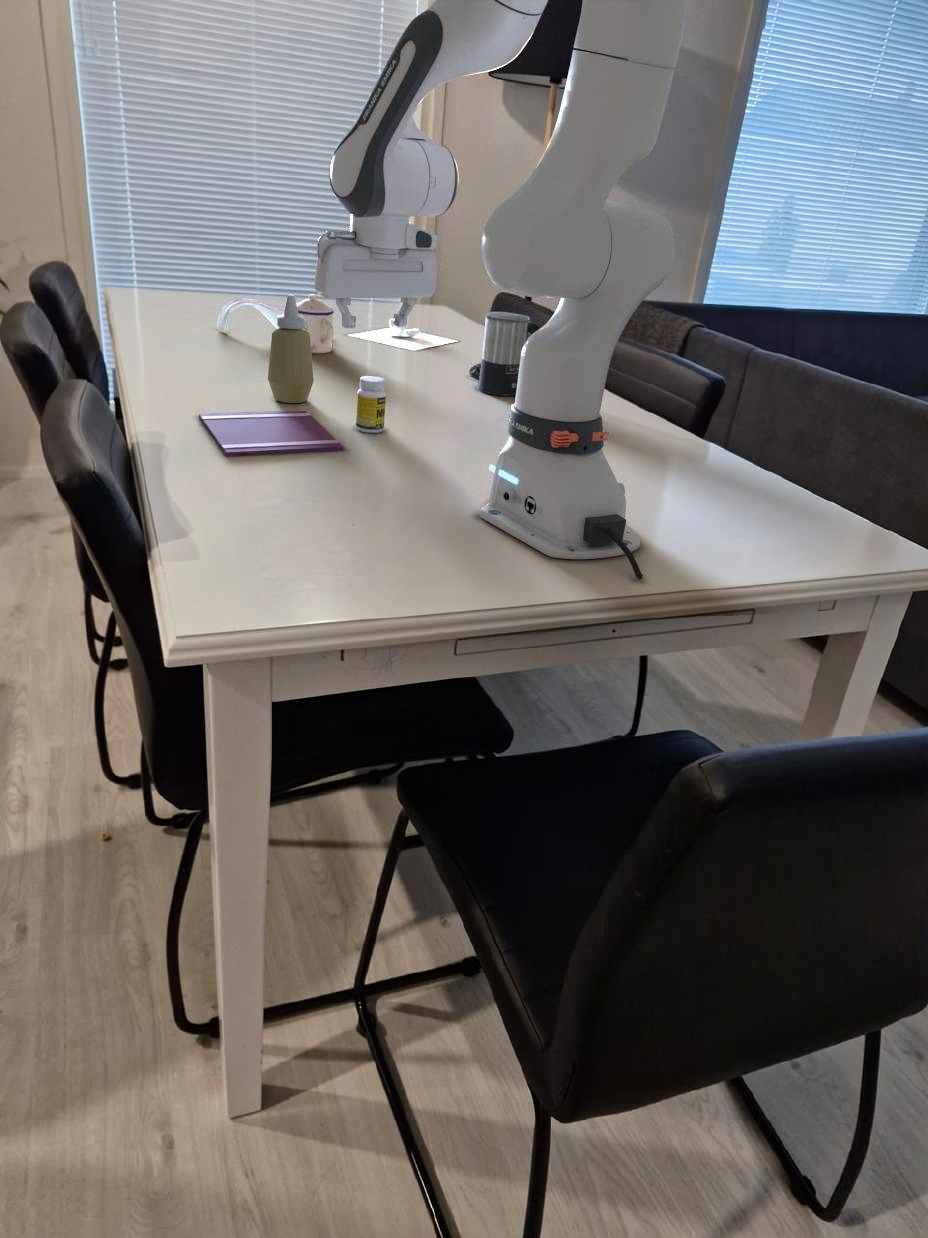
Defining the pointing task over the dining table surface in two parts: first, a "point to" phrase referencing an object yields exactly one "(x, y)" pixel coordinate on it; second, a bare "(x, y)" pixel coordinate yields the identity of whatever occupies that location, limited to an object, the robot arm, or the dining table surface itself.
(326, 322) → the teacup with lid
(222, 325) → the clear curved arch
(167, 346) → the dining table surface
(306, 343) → the squeeze bottle
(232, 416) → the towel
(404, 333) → the teacup and saucer
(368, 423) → the supplement bottle
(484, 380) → the milk frother
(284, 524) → the dining table surface
